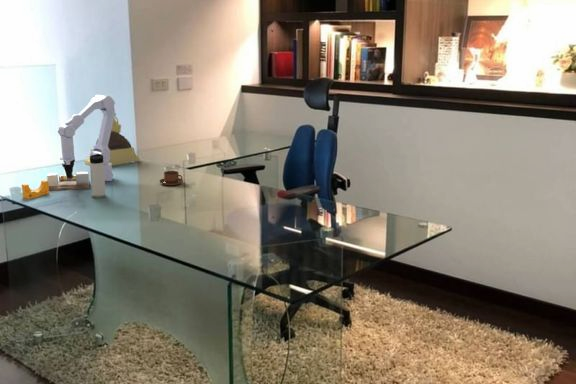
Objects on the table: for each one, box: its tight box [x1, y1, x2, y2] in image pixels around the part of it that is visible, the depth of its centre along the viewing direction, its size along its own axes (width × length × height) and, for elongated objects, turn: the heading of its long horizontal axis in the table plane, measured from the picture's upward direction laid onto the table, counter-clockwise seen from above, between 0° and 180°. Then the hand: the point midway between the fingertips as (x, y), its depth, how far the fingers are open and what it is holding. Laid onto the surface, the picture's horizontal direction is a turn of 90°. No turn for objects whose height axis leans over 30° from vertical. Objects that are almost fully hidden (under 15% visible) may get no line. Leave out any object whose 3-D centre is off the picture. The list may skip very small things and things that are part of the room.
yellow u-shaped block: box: [21, 179, 50, 200], centre depth 306 cm, size 12×4×6 cm, turn 142°
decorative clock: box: [84, 112, 140, 167], centre depth 373 cm, size 28×13×30 cm, turn 130°
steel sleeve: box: [75, 171, 90, 186], centre depth 325 cm, size 6×5×6 cm
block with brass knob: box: [58, 174, 76, 182], centre depth 323 cm, size 14×3×7 cm, turn 105°
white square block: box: [46, 172, 59, 186], centre depth 321 cm, size 4×5×6 cm
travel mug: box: [89, 154, 107, 199], centre depth 305 cm, size 6×7×20 cm
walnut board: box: [48, 180, 90, 192], centre depth 324 cm, size 21×14×1 cm, turn 105°
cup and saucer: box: [159, 170, 184, 186], centre depth 332 cm, size 12×12×6 cm
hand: (69, 175), depth 323 cm, fingers open, 7 cm apart
